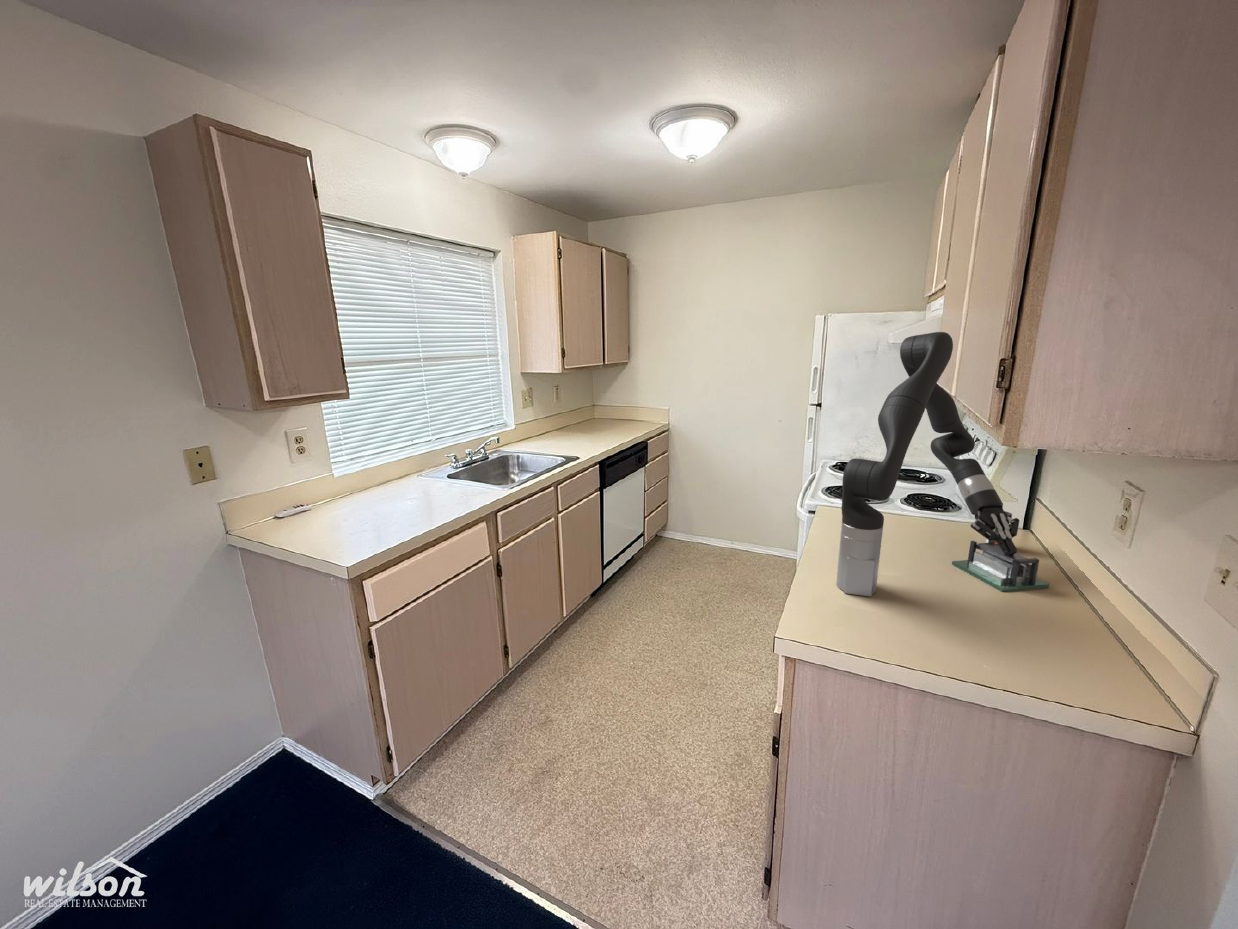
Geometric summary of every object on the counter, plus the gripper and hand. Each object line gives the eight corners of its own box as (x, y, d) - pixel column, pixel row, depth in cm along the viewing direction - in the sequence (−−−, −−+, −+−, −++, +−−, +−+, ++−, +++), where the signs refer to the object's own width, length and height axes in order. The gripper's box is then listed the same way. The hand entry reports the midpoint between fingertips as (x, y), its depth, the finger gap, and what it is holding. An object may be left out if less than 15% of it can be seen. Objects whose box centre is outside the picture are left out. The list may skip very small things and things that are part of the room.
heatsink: (951, 564, 137) (955, 539, 136) (994, 561, 139) (998, 536, 137) (1001, 591, 122) (1006, 563, 120) (1048, 587, 123) (1054, 559, 122)
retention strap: (973, 542, 135) (1015, 559, 123) (986, 542, 136) (1029, 558, 123) (973, 547, 135) (1014, 564, 123) (986, 546, 136) (1029, 563, 123)
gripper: (966, 489, 131) (999, 550, 122) (1011, 486, 132) (1046, 547, 123) (948, 502, 137) (978, 561, 128) (991, 499, 139) (1023, 557, 130)
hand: (1011, 554), depth 126 cm, fingers closed
